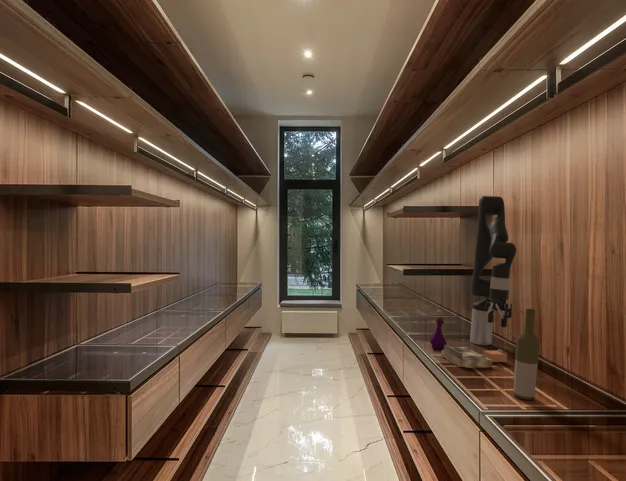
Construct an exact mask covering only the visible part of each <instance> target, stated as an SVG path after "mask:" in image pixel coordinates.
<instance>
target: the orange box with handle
mask: <svg viewBox="0 0 626 481" xmlns="http://www.w3.org/2000/svg"><path fill="white" fill-rule="evenodd" d="M482 355H485V356H486V357H487V358H489V359H491V360H492V364H494V363H502V364H506V362H508V361H507V360H508V353H507V352H506V351H504V350H502V349H499V348H498V349H497V350H483V354H482Z"/></svg>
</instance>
